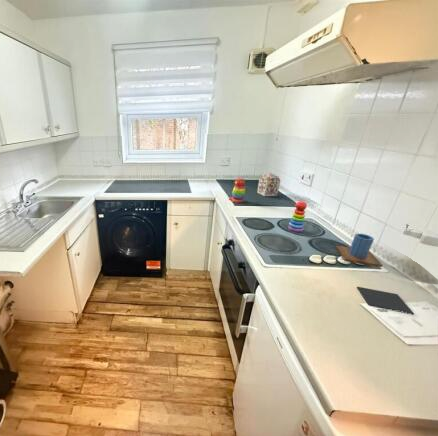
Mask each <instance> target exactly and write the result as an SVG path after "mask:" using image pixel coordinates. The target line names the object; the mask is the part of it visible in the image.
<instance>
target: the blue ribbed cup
mask: <svg viewBox="0 0 438 436" xmlns="http://www.w3.org/2000/svg"><path fill="white" fill-rule="evenodd" d="M374 240H375V238H374V237H373V236H371V235H368V234H365V233H356V234H354V237H353V240H352V242H351V246H349V247H350V250H349V253H350V254H351V255H353V256H355V257H359V258H366V257H367V254H368V252H369V251H370V250H371V248H372V245H373V243H374Z"/></svg>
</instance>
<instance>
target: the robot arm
mask: <svg viewBox="0 0 438 436" xmlns="http://www.w3.org/2000/svg"><path fill="white" fill-rule="evenodd" d="M408 224H409V223H406V224H405V226H404V228H405V229H404V230H403V233H402V234H403V235H404V236H409V237H412V238H414V239H419V241H418V242H419V243H420V244H421V245H422V244H423V245H427V246H432V247H437V248H438V234H437V233H435V232H432V231H430V230H427V229H423V232H422V233H421V231H414V230H412V229H407V228H408V226H409V225H408Z"/></svg>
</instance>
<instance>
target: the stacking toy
mask: <svg viewBox="0 0 438 436" xmlns="http://www.w3.org/2000/svg"><path fill="white" fill-rule="evenodd" d="M307 207H308V204H307V202H305V201H302V200H300V201H297V202H296V203H295V209H294V211H293V214H292V216H291V219H290V220H289V223H288V225H287V229H288V230H289V231H291V232H293V233H303V231H304V230H305V229H304V224H305V217H306V215H305V214H306V209H307Z"/></svg>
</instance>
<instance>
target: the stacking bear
mask: <svg viewBox="0 0 438 436" xmlns="http://www.w3.org/2000/svg"><path fill="white" fill-rule="evenodd" d="M245 184H246V180H245V179H244V178H241V177H238V178H237V179H236V180H235V181H234V187H233V189H232V193H231V195H232V196H230V197H228V200H229V201H232V203H234V204H240V203H243V202H244V201H245V199H244V198H245V196H246V186H245Z"/></svg>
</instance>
